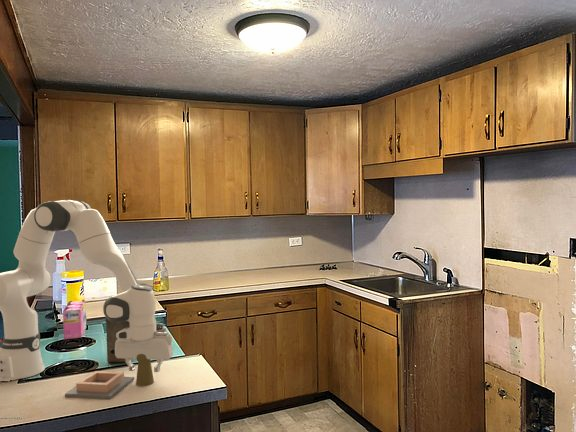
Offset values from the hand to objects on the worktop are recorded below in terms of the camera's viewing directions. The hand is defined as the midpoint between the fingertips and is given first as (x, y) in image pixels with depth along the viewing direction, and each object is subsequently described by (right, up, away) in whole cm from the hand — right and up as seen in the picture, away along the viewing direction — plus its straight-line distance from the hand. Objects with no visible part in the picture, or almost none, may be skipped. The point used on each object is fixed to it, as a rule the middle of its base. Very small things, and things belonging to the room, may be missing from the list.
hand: (144, 371), depth 163 cm
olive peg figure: (0, -4, 0) cm, 4 cm away
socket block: (-14, -5, -4) cm, 15 cm away
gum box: (-54, -3, +67) cm, 86 cm away
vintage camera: (-17, -4, +27) cm, 32 cm away
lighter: (-7, -3, +41) cm, 41 cm away
